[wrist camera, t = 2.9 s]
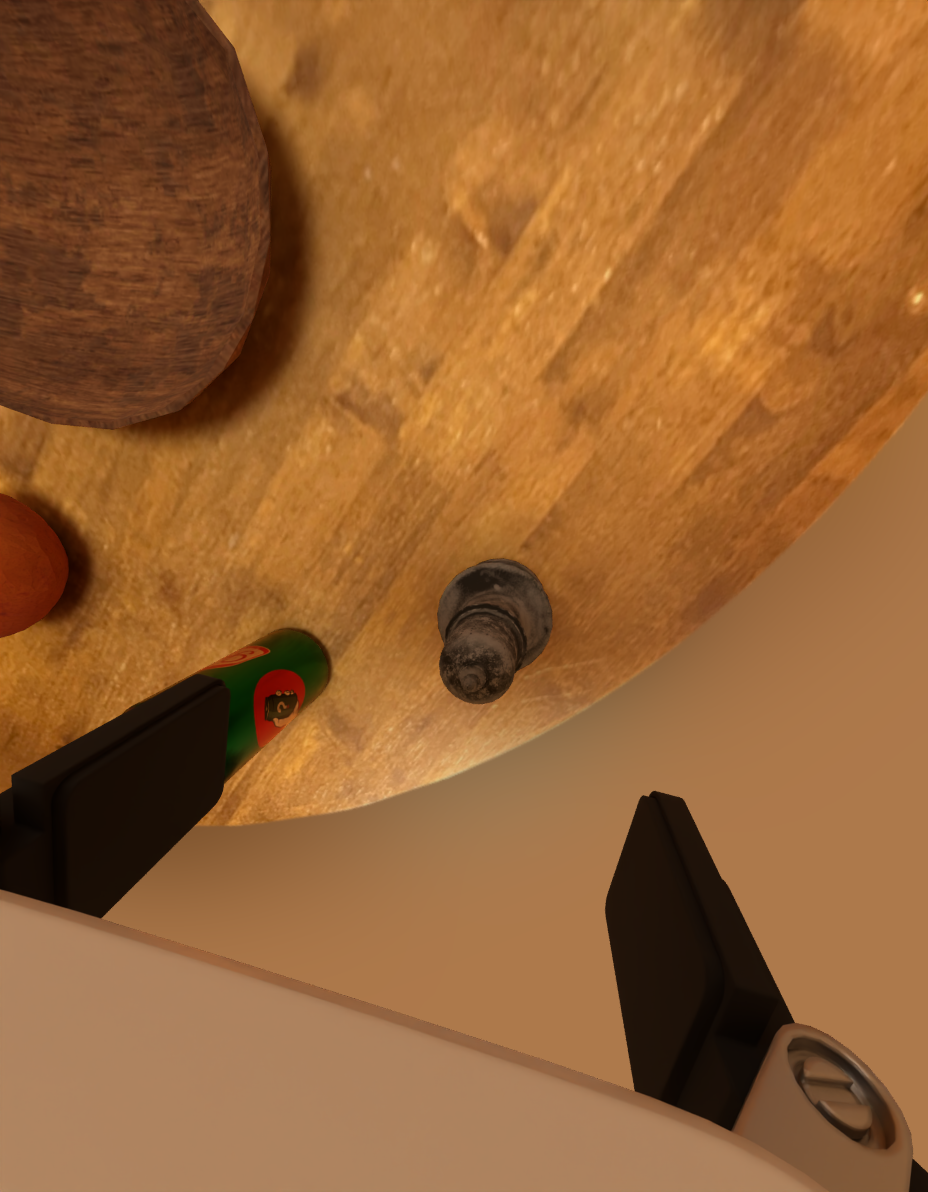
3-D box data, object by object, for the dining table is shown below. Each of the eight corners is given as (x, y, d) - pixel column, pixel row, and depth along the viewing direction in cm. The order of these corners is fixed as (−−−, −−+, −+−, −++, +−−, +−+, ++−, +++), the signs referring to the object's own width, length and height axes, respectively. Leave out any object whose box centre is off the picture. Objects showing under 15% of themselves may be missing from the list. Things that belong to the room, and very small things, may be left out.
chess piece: (512, 670, 28) (491, 797, 16) (431, 614, 28) (354, 701, 16) (572, 592, 26) (596, 672, 15) (486, 532, 26) (443, 566, 15)
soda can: (297, 611, 29) (139, 690, 18) (347, 674, 30) (225, 790, 18) (244, 654, 31) (65, 754, 19) (293, 714, 31) (147, 847, 20)
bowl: (297, 472, 27) (245, 468, 23) (-25, 398, 30) (-135, 381, 25) (346, 58, 23) (294, -59, 18) (-44, 7, 25) (-185, -109, 20)
